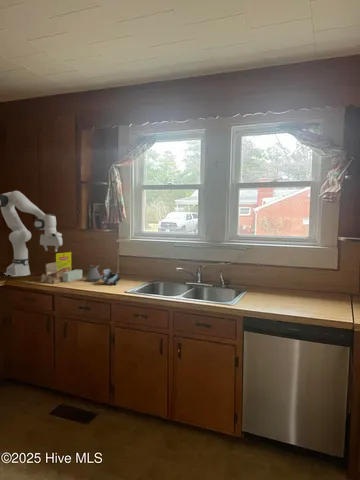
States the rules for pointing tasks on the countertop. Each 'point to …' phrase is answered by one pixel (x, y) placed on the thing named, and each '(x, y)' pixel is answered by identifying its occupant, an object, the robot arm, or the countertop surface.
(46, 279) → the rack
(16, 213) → the robot arm
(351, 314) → the countertop surface
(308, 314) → the countertop surface
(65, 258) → the food package
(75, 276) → the slot stand
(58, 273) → the offcut top
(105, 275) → the blue-grey irregular lump
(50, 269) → the birch sheet
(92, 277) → the coffee pot
